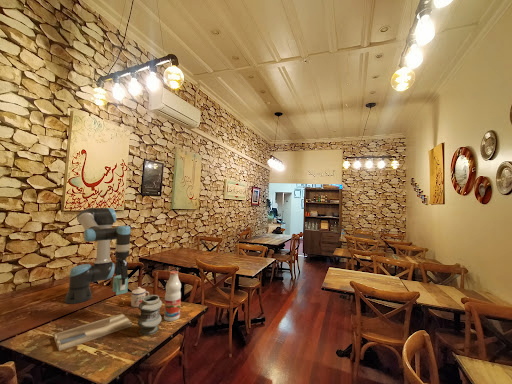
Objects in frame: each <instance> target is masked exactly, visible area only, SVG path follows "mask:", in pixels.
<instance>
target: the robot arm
mask: <svg viewBox="0 0 512 384" xmlns="http://www.w3.org/2000/svg"><path fill="white" fill-rule="evenodd" d="M76 217H77V218H76V220H77V223H78V224H79V225H81V226H82V228H83V230H84V231H83V241H84V242H96V257H95V258H96V259H95V261H94V262H93V265H91V263H83V264H79V265H76V266H74V267H72V268H71V269H70V272H69V283H68V291H67V292H66V296H65V298H64V303H66V304H69V305H70V304H71V305H72V304H79V303H83V302H87V301H89V300H91V299H92V291H91V288H90V284H91V283H95V282H99V281H100V282H101V281H107V280H110V279H113V277H114V274H115V276H121V279H120V280H121V281H120V290H124V289H125V284H126V279H127V278H128V279H129V277H128V276H129V274H128V270H129V269H128V268H129V267H128V264H129V262H128V261H127V258H129V257H130V250H131V249H130V248H131V243H130V242H131V232H132V231H131V229H132V228H131V226H130V225H119V226H115V227H113V226H114V224H115V223H116V221H117V213H116V210H115V209H114V208H113V207H112V208H111V207H89V208H85V209H83V210H81V211H80V212H79V213H78V214H77V216H76ZM113 240H115V246H114V248H115V255H114V257H115V263H114V262H113V260H112V259H111V241H113Z"/></svg>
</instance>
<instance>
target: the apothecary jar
mask: <svg viewBox="0 0 512 384" xmlns="http://www.w3.org/2000/svg"><path fill="white" fill-rule="evenodd" d="M162 305H163V301H162V300H161V299H160V296H159V295H157V294H149V296H147V295H145V297H144V298H143V300H142V302H141V303H140V304H139V307H138V309H139V311H140V316H139V318H138V320H137V325H138V327H139V328H141V329H139V332H138V333H139V335H141V336H146V337H147V336H152V335H155V334H157V333H158V332H159V330H160V329H159V326H158V325H159V324H160V323H161V322H162V321H163V320H162V317H163V316H161V314H160V308H162Z"/></svg>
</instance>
